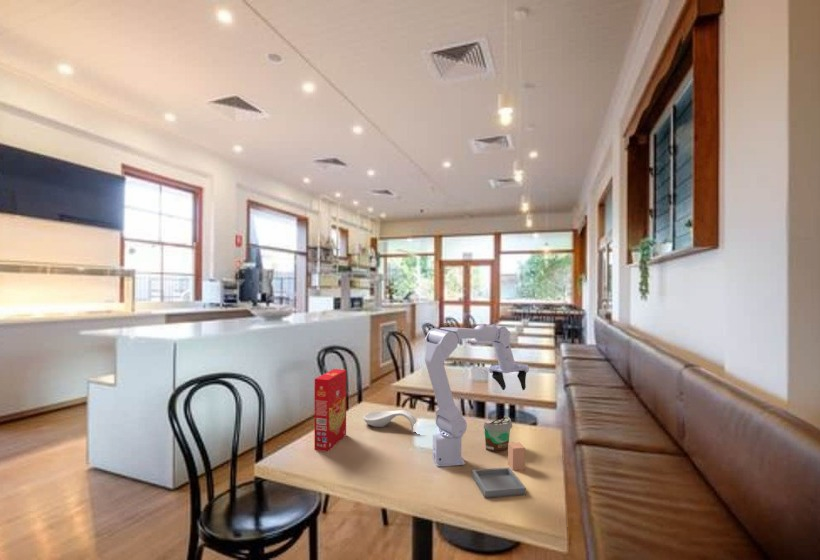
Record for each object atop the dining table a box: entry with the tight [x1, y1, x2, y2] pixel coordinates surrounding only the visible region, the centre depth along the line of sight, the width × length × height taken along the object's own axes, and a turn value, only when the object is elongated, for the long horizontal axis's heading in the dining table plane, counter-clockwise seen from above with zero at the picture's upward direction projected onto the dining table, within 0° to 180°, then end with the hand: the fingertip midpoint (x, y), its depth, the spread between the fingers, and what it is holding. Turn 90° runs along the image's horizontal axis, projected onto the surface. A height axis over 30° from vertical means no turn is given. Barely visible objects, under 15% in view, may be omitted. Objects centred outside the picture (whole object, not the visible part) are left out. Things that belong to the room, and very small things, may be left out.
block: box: [507, 442, 526, 471], centre depth 130 cm, size 4×4×7 cm
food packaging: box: [314, 368, 347, 452], centre depth 148 cm, size 15×5×25 cm, turn 164°
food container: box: [483, 415, 513, 453], centre depth 143 cm, size 12×6×10 cm, turn 129°
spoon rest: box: [362, 409, 418, 434], centre depth 163 cm, size 24×12×7 cm, turn 65°
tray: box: [471, 466, 527, 499], centre depth 119 cm, size 12×12×2 cm
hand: (514, 388), depth 150 cm, fingers open, 7 cm apart
